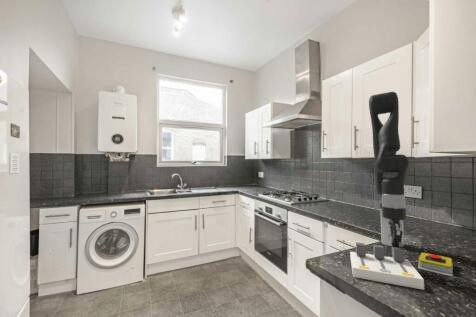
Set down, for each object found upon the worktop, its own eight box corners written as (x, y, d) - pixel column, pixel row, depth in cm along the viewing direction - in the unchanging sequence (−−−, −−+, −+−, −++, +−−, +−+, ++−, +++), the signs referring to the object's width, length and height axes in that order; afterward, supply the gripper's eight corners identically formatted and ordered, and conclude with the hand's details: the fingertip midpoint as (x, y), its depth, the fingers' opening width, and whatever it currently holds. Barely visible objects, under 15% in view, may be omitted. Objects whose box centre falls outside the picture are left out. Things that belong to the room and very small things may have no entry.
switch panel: (350, 259, 89) (350, 251, 89) (407, 267, 81) (407, 259, 81) (353, 276, 73) (352, 267, 73) (424, 289, 65) (423, 279, 65)
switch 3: (392, 257, 81) (392, 246, 81) (402, 259, 80) (401, 247, 80) (394, 260, 78) (393, 249, 79) (404, 262, 77) (404, 250, 78)
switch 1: (356, 252, 86) (355, 242, 86) (364, 253, 85) (364, 243, 85) (356, 255, 84) (356, 244, 84) (365, 256, 82) (365, 245, 83)
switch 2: (373, 255, 84) (373, 244, 84) (383, 256, 82) (382, 245, 83) (374, 257, 81) (374, 246, 81) (384, 259, 80) (384, 248, 80)
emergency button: (417, 257, 81) (421, 247, 91) (417, 269, 80) (421, 258, 91) (452, 264, 74) (452, 253, 85) (452, 278, 74) (452, 265, 85)
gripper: (379, 203, 91) (380, 245, 90) (385, 207, 80) (387, 256, 78) (400, 204, 88) (402, 248, 87) (410, 209, 76) (413, 259, 75)
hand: (395, 252), depth 83 cm, fingers closed
